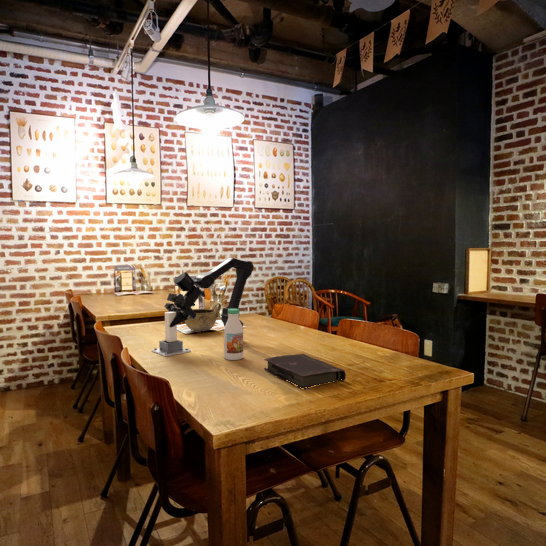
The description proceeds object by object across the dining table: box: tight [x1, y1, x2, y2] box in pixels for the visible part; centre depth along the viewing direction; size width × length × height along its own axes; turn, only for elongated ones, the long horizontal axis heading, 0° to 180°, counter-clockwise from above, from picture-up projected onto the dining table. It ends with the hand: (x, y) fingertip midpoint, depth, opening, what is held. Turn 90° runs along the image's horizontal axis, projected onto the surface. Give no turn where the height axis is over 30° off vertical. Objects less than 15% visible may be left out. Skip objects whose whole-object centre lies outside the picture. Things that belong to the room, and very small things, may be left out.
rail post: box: [164, 311, 178, 342], centre depth 184 cm, size 4×4×12 cm
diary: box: [263, 353, 347, 390], centre depth 151 cm, size 19×25×5 cm
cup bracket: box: [151, 339, 191, 357], centre depth 184 cm, size 12×12×4 cm
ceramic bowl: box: [184, 302, 222, 333], centre depth 228 cm, size 22×17×15 cm
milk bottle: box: [223, 309, 244, 361], centre depth 173 cm, size 8×8×20 cm
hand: (167, 326), depth 183 cm, fingers closed on rail post, 4 cm apart
